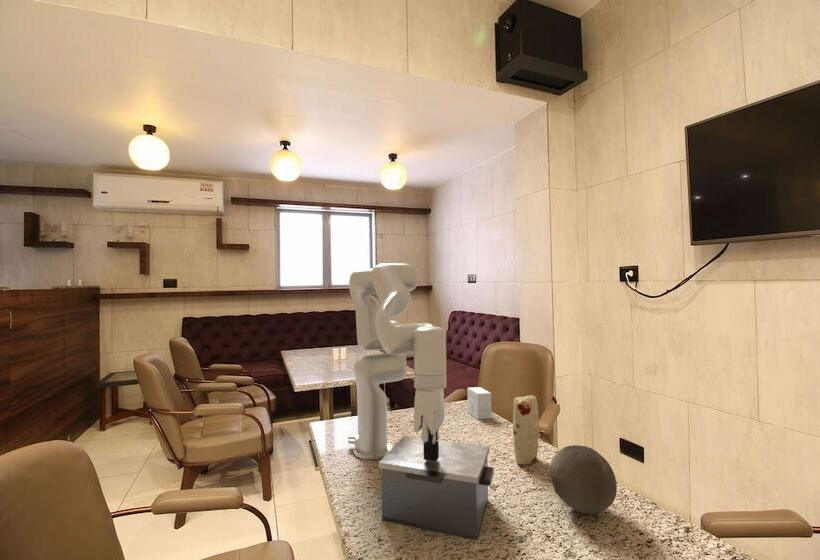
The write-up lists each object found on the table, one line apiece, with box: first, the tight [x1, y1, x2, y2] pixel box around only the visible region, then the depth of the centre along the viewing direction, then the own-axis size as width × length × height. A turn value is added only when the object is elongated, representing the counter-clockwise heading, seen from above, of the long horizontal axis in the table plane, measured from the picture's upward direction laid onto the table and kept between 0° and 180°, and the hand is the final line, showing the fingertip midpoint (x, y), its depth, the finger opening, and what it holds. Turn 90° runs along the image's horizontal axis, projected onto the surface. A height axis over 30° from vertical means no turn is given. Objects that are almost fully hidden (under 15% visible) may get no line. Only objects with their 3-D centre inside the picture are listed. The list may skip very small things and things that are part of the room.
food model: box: [512, 394, 540, 465], centre depth 117 cm, size 10×7×20 cm
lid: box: [378, 435, 490, 484], centre depth 91 cm, size 23×19×1 cm
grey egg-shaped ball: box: [549, 444, 618, 515], centre depth 90 cm, size 14×14×15 cm
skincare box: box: [466, 386, 492, 420], centre depth 160 cm, size 10×6×10 cm, turn 16°
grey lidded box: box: [380, 459, 495, 541], centre depth 92 cm, size 26×16×12 cm, turn 70°
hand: (431, 458), depth 89 cm, fingers closed
